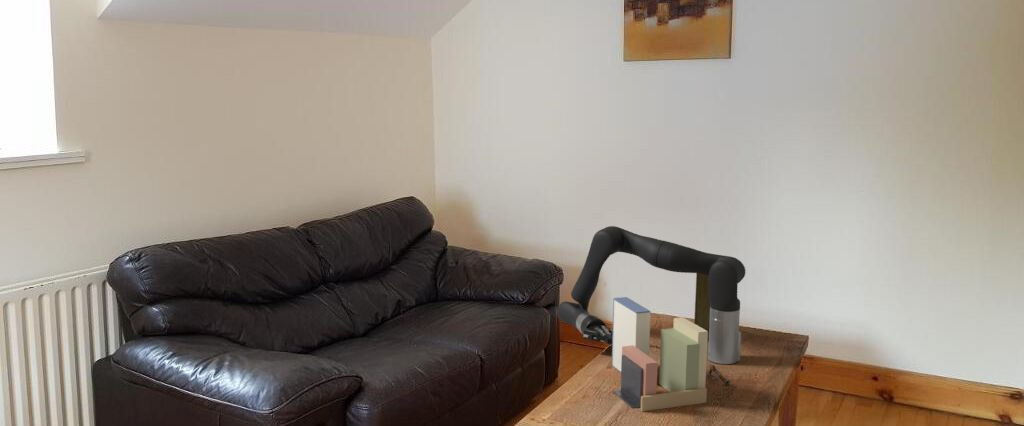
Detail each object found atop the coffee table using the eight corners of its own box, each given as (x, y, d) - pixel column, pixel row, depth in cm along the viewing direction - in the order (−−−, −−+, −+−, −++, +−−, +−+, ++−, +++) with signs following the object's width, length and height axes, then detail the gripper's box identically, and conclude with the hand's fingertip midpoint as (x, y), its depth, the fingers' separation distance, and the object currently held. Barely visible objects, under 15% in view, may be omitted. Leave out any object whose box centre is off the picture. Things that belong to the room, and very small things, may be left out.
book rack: (680, 381, 256) (682, 317, 253) (709, 402, 241) (712, 333, 237) (616, 389, 250) (618, 323, 246) (642, 411, 234) (644, 341, 231)
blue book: (624, 364, 271) (626, 296, 267) (648, 381, 256) (650, 311, 252) (611, 365, 269) (613, 298, 265) (634, 383, 254) (636, 312, 250)
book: (694, 325, 310) (696, 258, 306) (709, 326, 309) (712, 259, 305) (694, 339, 294) (697, 269, 290) (710, 341, 293) (713, 270, 289)
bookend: (623, 390, 249) (624, 354, 247) (642, 406, 237) (643, 368, 235) (613, 392, 248) (614, 355, 246) (631, 408, 236) (632, 370, 234)
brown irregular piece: (708, 373, 261) (712, 362, 259) (725, 391, 255) (730, 379, 253) (703, 374, 260) (708, 363, 258) (721, 392, 254) (726, 381, 252)
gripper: (572, 317, 287) (593, 332, 271) (608, 313, 291) (631, 328, 275) (572, 338, 288) (592, 355, 272) (608, 334, 292) (630, 350, 276)
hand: (612, 341), depth 274 cm, fingers closed
